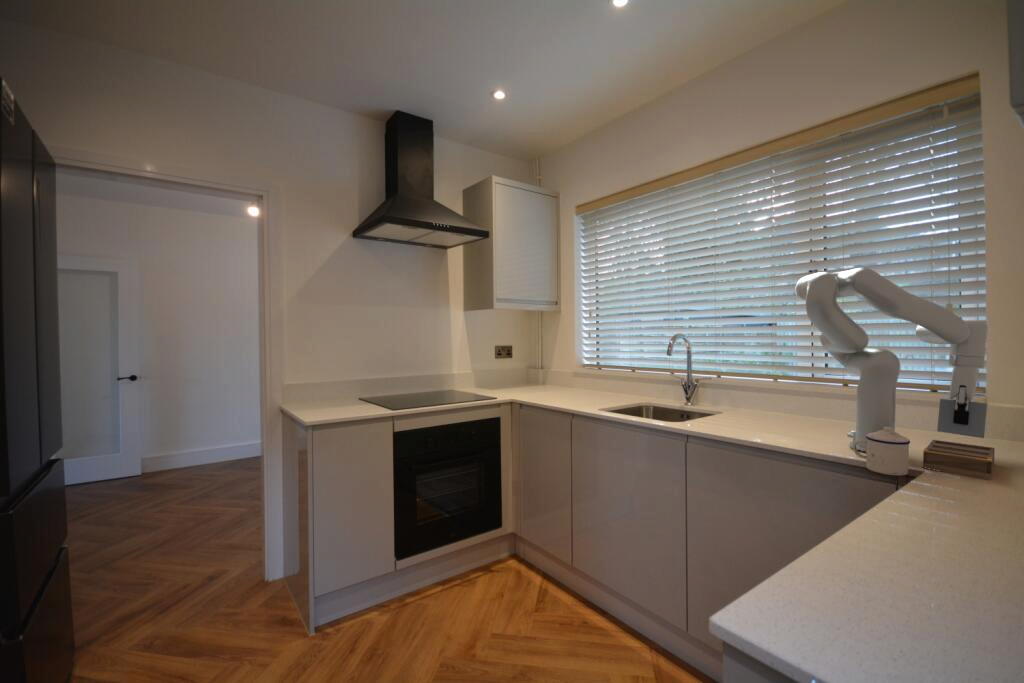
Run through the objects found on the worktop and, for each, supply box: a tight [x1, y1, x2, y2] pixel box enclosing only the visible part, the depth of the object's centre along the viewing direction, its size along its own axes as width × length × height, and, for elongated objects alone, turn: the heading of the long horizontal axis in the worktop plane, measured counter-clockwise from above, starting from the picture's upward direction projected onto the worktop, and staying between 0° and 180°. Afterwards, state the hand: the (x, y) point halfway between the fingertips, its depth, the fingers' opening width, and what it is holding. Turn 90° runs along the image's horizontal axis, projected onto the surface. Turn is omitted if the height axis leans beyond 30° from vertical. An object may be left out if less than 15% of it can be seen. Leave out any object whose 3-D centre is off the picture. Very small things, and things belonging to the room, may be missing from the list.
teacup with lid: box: [852, 427, 911, 477], centre depth 124 cm, size 12×9×12 cm
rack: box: [922, 439, 996, 481], centre depth 127 cm, size 20×13×5 cm, turn 132°
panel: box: [936, 397, 988, 439], centre depth 139 cm, size 2×10×10 cm, turn 42°
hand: (961, 422), depth 139 cm, fingers closed on panel, 2 cm apart
